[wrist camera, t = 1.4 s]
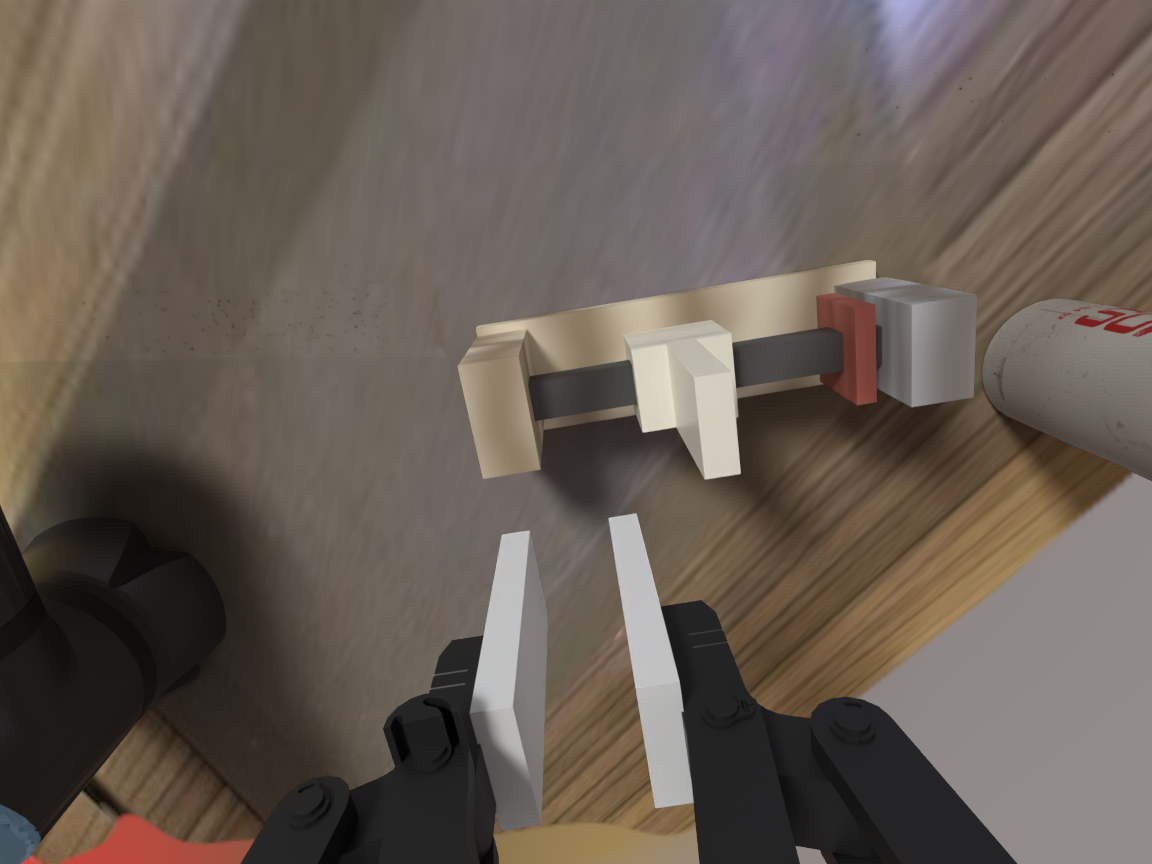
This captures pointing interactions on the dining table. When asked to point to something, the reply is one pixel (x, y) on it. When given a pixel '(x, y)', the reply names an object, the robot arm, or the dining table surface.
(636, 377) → the cream t-shaped block
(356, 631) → the dining table surface
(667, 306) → the rail
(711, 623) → the robot arm
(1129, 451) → the thermos bottle
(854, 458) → the dining table surface
